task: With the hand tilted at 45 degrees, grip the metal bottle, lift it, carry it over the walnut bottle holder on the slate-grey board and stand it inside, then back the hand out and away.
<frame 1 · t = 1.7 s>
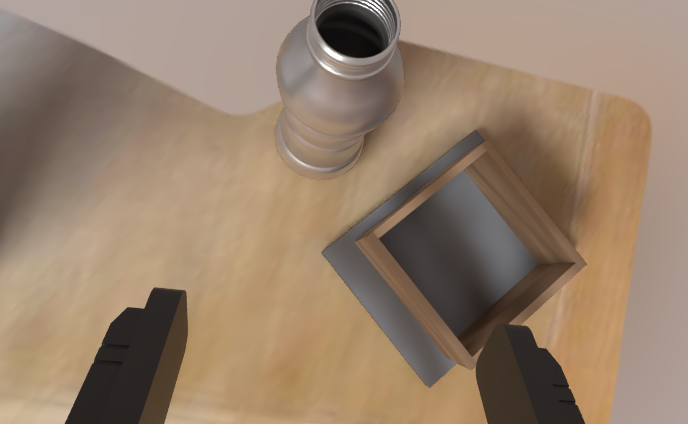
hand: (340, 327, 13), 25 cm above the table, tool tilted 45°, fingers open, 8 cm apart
metal bottle: (316, 146, 40), on the table
bottle holder: (448, 254, 40), on the table
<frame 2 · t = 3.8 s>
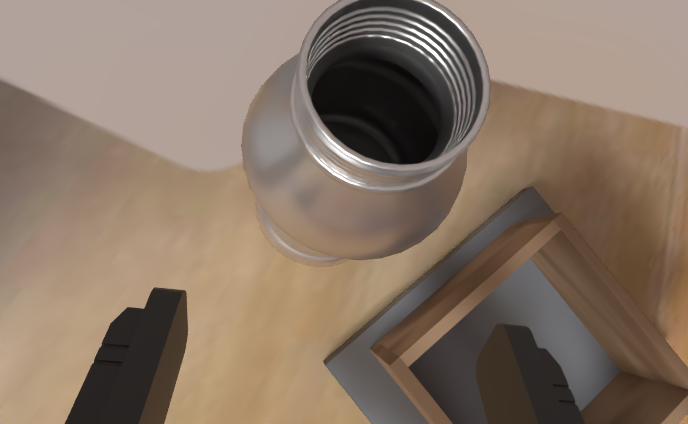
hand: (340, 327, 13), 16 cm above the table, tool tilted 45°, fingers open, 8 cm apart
metal bottle: (315, 212, 29), on the table
bottle holder: (497, 357, 29), on the table
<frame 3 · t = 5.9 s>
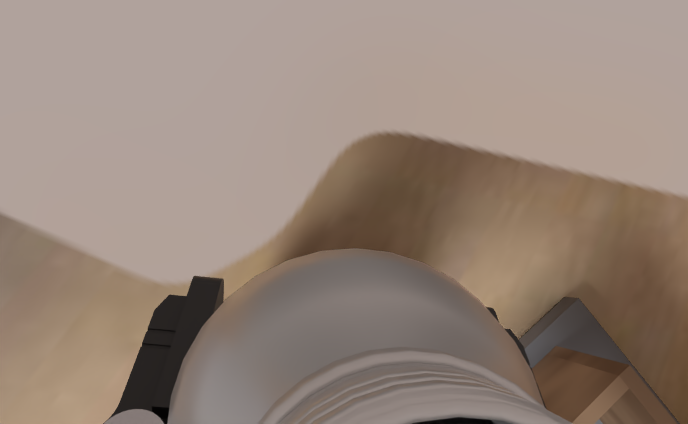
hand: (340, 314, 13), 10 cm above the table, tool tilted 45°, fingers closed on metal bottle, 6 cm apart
metal bottle: (309, 331, 23), on the table, touching gripper
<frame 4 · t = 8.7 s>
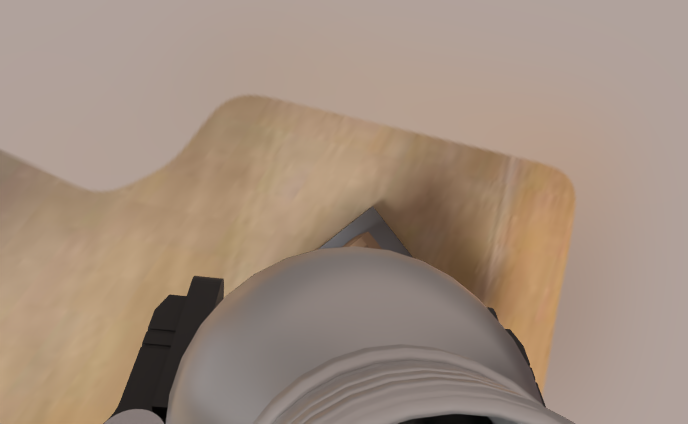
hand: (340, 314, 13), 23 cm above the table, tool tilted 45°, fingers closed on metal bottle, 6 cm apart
metal bottle: (309, 330, 23), point 12 cm above the table, touching gripper
bottle holder: (340, 346, 35), on the table
when the fingers open (13 cm above the table, at t = 11.9 s): metal bottle drops 1 cm, resting on bottle holder.
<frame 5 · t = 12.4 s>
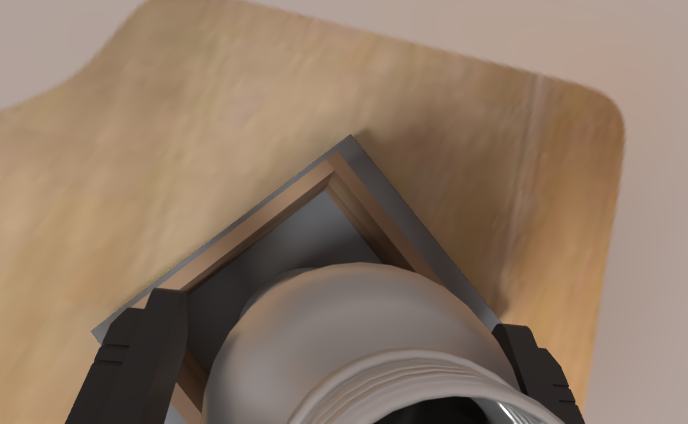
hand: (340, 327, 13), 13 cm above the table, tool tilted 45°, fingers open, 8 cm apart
metal bottle: (307, 333, 25), point 1 cm above the table, touching bottle holder
bottle holder: (307, 326, 26), on the table
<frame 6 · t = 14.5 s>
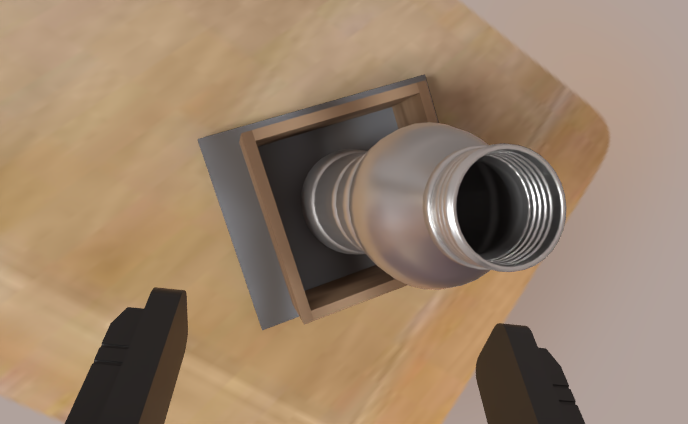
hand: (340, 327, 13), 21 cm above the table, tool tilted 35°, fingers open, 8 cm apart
metal bottle: (343, 201, 33), point 1 cm above the table, touching bottle holder
bottle holder: (341, 198, 34), on the table
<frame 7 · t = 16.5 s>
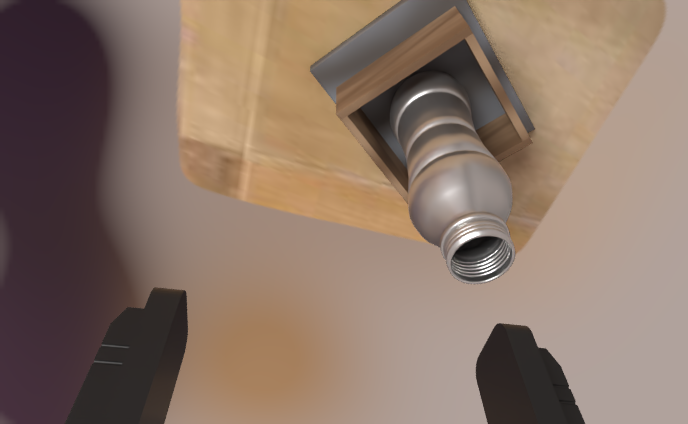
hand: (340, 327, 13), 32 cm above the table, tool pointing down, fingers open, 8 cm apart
metal bottle: (424, 99, 42), point 1 cm above the table, touching bottle holder
bottle holder: (425, 95, 43), on the table
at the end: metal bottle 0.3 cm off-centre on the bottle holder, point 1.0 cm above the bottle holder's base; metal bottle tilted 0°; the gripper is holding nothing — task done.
